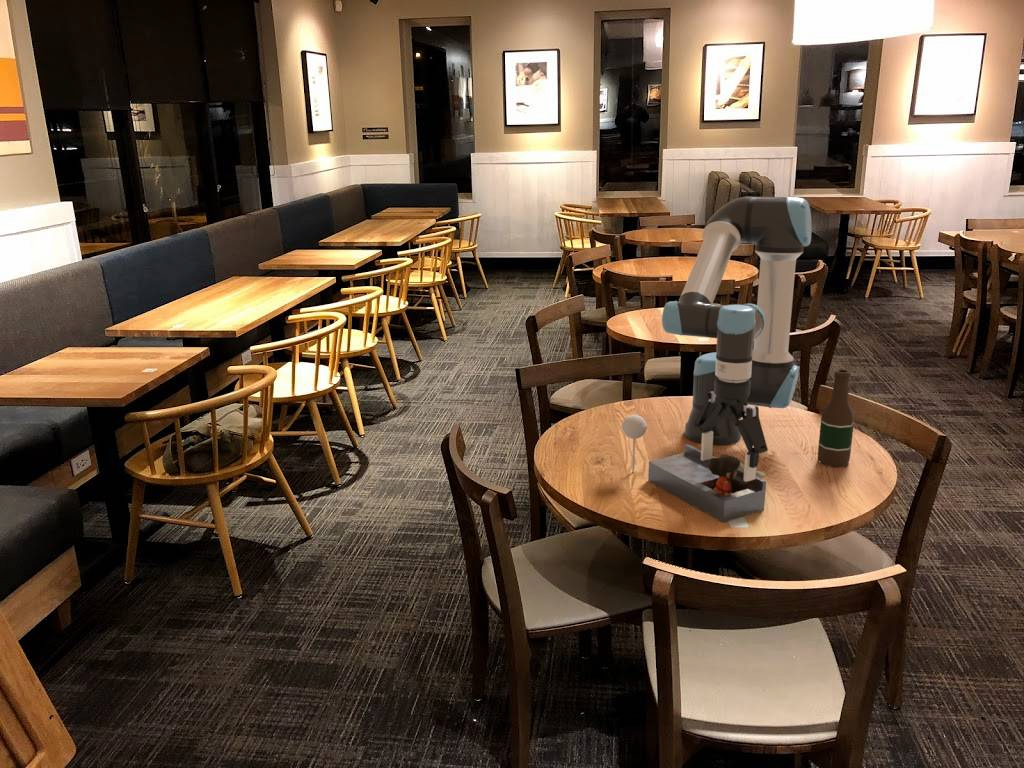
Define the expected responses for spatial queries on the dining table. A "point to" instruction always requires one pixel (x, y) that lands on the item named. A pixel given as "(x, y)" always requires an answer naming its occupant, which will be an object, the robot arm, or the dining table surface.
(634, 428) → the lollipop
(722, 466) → the figurine
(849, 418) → the beer bottle
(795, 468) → the dining table surface
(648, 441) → the dining table surface
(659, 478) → the grey box with compartment
